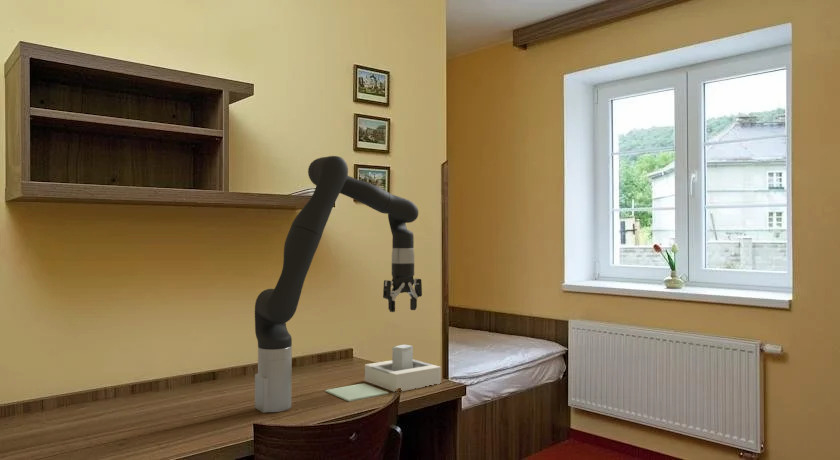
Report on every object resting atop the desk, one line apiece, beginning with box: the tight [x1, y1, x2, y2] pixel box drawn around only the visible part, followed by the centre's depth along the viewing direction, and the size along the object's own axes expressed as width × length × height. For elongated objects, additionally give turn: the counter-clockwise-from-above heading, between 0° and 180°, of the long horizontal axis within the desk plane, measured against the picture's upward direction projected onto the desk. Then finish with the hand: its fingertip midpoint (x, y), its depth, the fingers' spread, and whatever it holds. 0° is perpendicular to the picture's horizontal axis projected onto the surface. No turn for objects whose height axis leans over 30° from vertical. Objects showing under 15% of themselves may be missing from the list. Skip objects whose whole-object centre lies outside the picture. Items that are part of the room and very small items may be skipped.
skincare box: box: [392, 344, 414, 371], centre depth 197 cm, size 6×4×12 cm
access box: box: [364, 358, 442, 393], centre depth 197 cm, size 18×18×6 cm
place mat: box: [325, 382, 389, 402], centre depth 184 cm, size 14×14×1 cm
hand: (402, 310), depth 197 cm, fingers open, 8 cm apart
